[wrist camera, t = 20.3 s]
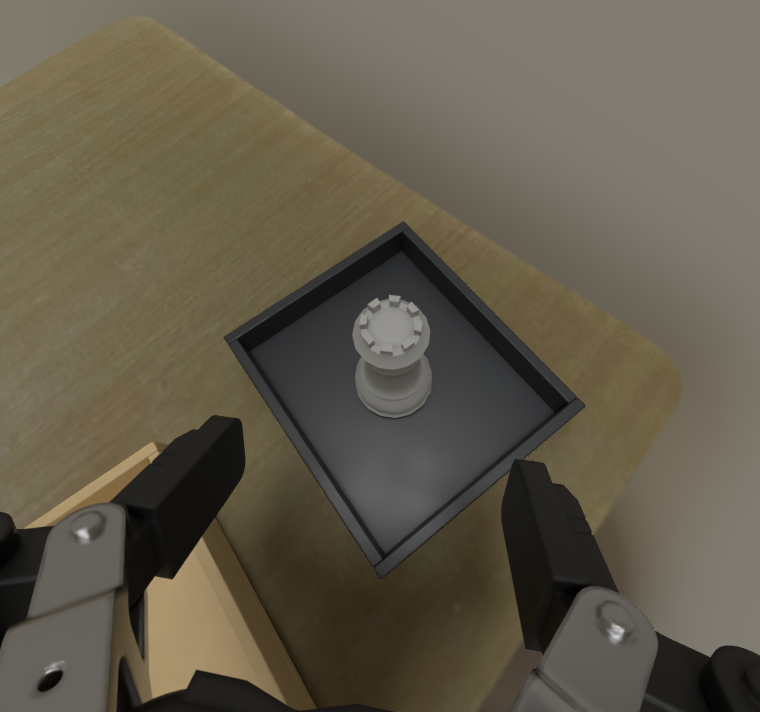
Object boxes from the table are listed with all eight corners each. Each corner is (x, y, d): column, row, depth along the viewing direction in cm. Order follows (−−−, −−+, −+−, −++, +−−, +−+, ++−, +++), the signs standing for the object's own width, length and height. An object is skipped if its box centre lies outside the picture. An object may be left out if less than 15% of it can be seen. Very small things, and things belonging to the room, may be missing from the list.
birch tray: (321, 716, 18) (309, 748, 15) (45, 962, 15) (-19, 1046, 13) (178, 447, 22) (152, 440, 20) (-48, 602, 20) (-108, 615, 18)
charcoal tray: (566, 416, 22) (586, 405, 20) (382, 571, 20) (380, 580, 17) (403, 245, 27) (403, 220, 24) (239, 352, 24) (222, 337, 22)
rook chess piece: (410, 335, 24) (415, 258, 16) (445, 399, 22) (468, 346, 15) (344, 366, 23) (317, 300, 16) (375, 432, 22) (362, 395, 14)
